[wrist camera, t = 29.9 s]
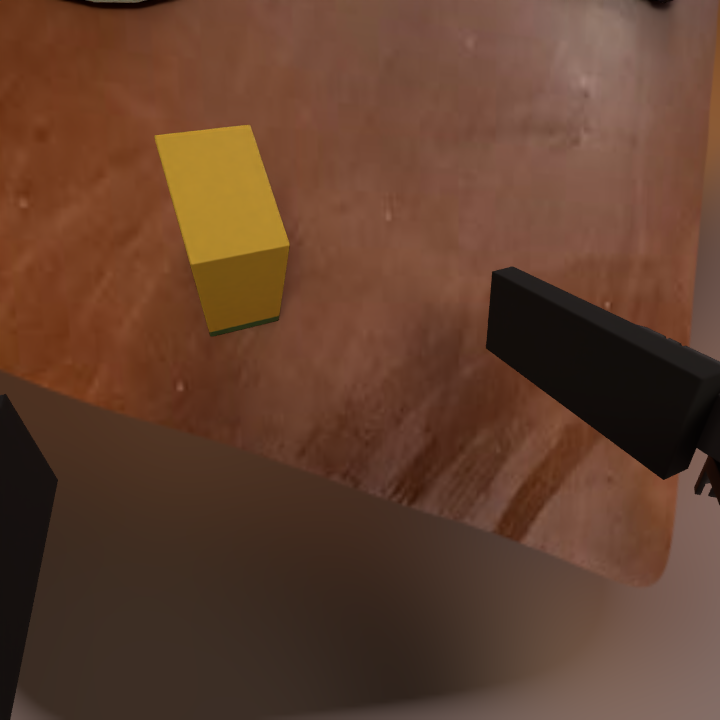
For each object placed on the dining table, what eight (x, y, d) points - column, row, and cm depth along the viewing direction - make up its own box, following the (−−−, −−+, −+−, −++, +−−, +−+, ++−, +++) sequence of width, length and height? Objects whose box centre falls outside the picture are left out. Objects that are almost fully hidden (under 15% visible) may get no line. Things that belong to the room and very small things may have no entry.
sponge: (210, 337, 26) (190, 264, 18) (184, 244, 27) (153, 134, 19) (278, 320, 27) (290, 245, 19) (251, 232, 29) (250, 123, 20)
